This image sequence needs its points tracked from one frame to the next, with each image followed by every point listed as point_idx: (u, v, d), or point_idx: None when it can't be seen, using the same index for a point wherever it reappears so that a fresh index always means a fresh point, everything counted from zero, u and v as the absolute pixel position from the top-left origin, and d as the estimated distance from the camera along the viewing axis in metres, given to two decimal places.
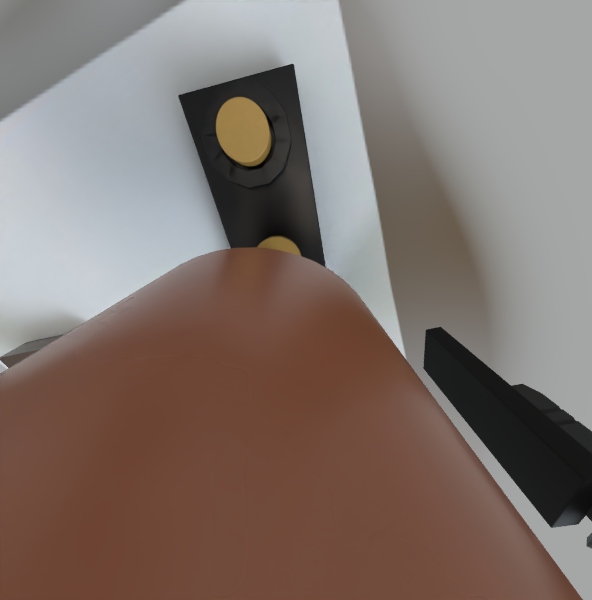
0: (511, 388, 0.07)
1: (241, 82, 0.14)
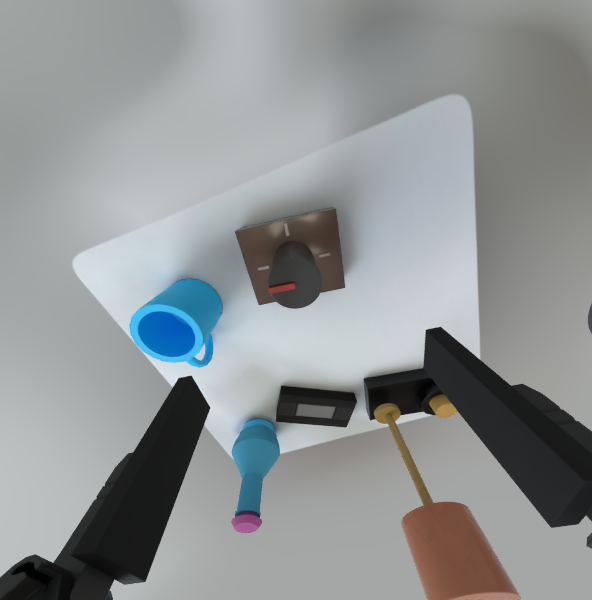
0: (511, 388, 0.07)
1: None
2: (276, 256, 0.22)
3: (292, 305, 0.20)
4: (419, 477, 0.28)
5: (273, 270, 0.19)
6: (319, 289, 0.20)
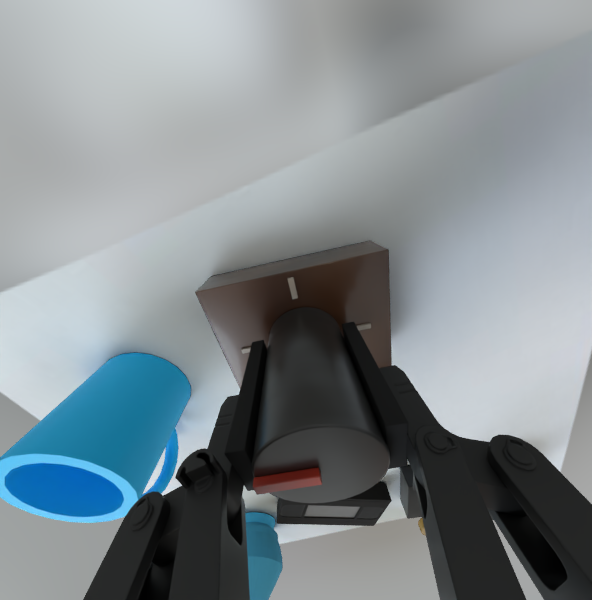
0: (377, 367, 0.09)
1: None
2: (273, 361, 0.10)
3: (312, 499, 0.09)
4: None
5: (265, 450, 0.07)
6: (380, 475, 0.08)
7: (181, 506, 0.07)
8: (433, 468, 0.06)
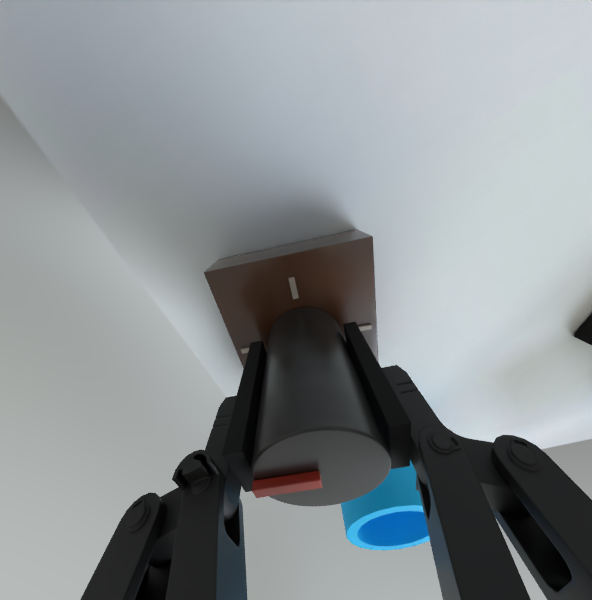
0: (379, 367, 0.09)
1: None
2: (273, 362, 0.10)
3: (312, 502, 0.08)
4: None
5: (264, 453, 0.07)
6: (382, 478, 0.08)
7: (178, 507, 0.07)
8: (437, 468, 0.06)
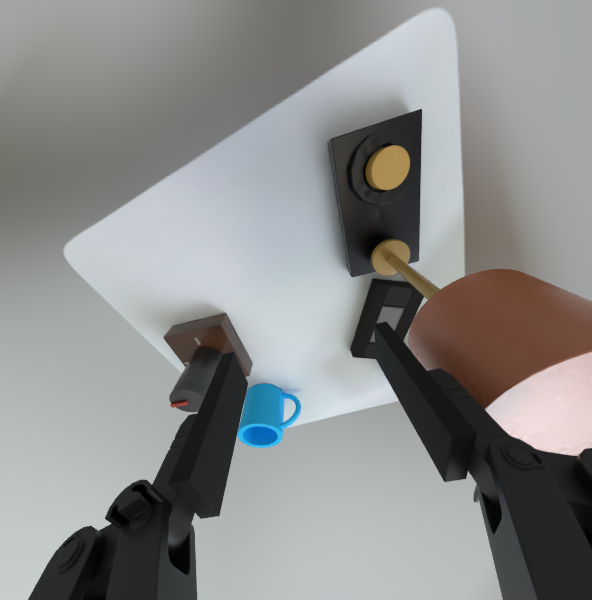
0: (424, 370, 0.09)
1: (388, 130, 0.20)
2: None
3: (191, 410, 0.30)
4: (431, 296, 0.17)
5: (170, 395, 0.28)
6: None
7: (116, 542, 0.06)
8: (513, 482, 0.05)
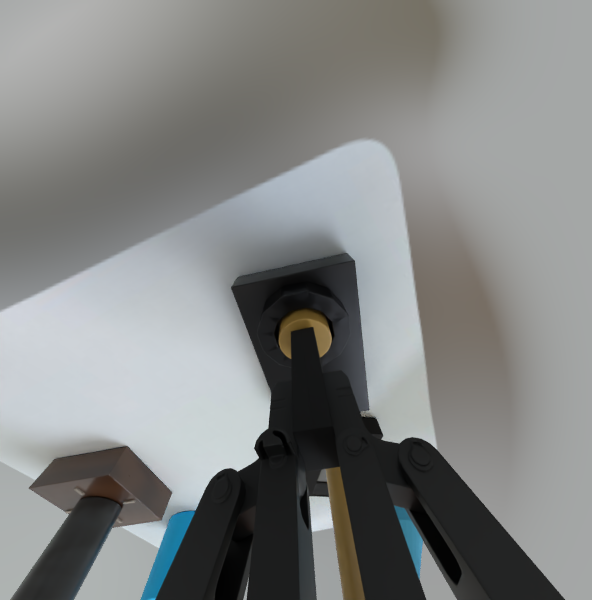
0: (320, 372, 0.10)
1: (304, 295, 0.14)
2: (43, 552, 0.22)
3: None
4: None
5: None
6: None
7: (256, 482, 0.07)
8: (350, 472, 0.06)
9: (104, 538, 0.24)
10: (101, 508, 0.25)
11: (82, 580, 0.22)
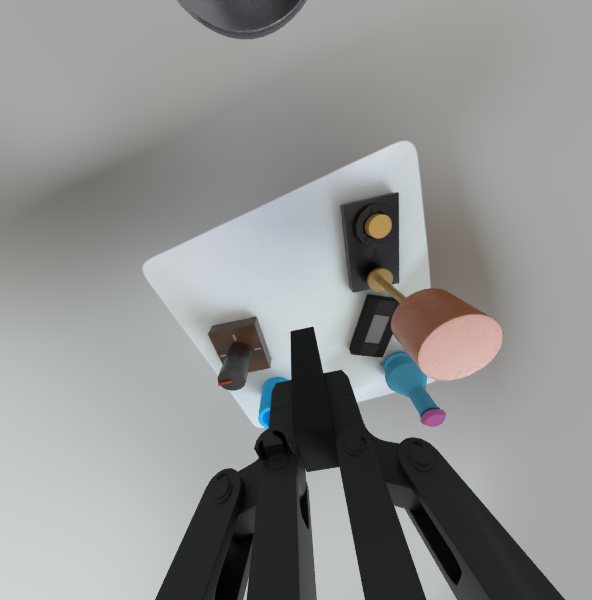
0: (320, 372, 0.10)
1: (379, 204, 0.33)
2: (225, 359, 0.41)
3: (232, 389, 0.39)
4: None
5: (219, 375, 0.38)
6: (244, 382, 0.39)
7: (256, 482, 0.07)
8: (350, 472, 0.06)
9: None
10: (246, 347, 0.44)
11: (247, 373, 0.41)
